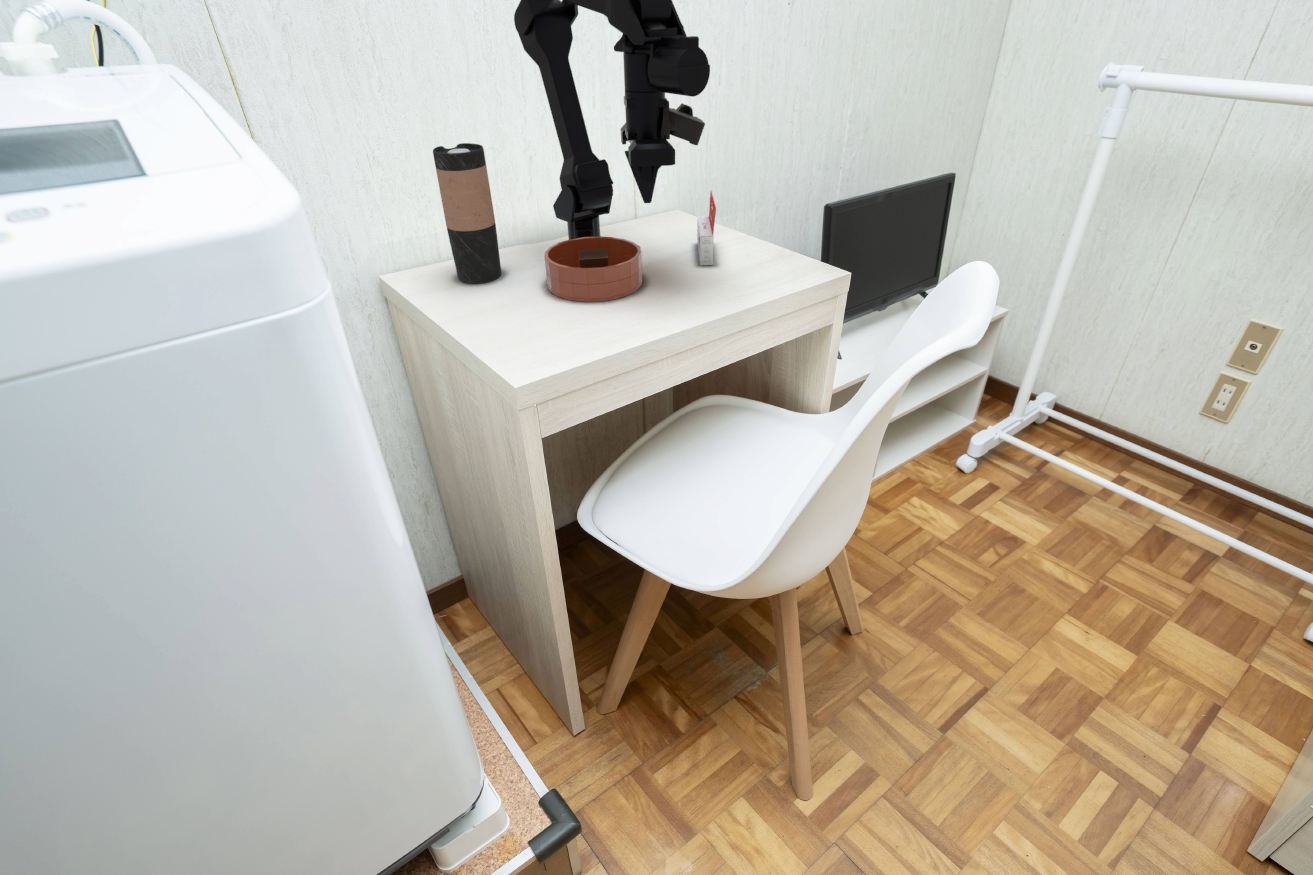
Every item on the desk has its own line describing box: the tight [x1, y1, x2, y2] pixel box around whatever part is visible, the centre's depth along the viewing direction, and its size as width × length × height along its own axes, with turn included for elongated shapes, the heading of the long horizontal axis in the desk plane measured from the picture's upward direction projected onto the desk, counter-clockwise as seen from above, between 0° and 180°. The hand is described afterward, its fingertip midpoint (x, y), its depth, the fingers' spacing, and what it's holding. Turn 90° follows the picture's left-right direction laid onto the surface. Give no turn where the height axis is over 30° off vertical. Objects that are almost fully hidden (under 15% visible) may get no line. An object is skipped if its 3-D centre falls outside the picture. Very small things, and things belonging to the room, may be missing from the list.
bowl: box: [543, 235, 643, 303], centre depth 106 cm, size 15×15×5 cm
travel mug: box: [432, 142, 502, 284], centre depth 106 cm, size 8×8×20 cm
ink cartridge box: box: [696, 190, 717, 266], centre depth 115 cm, size 2×11×10 cm, turn 0°
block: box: [579, 249, 608, 268], centre depth 106 cm, size 4×4×4 cm
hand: (647, 202), depth 103 cm, fingers closed
